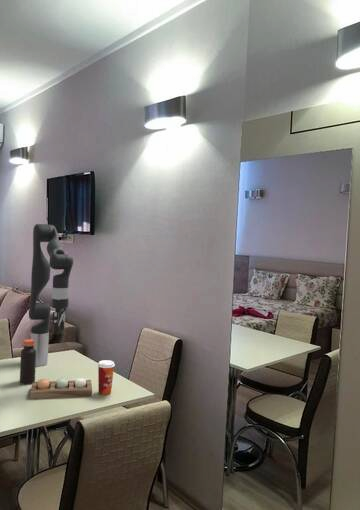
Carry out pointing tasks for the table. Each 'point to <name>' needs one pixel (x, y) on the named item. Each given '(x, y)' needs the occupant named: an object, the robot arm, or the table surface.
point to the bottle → (28, 362)
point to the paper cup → (105, 376)
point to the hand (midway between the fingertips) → (59, 332)
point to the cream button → (80, 383)
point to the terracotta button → (43, 384)
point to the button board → (60, 390)
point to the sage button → (62, 383)
